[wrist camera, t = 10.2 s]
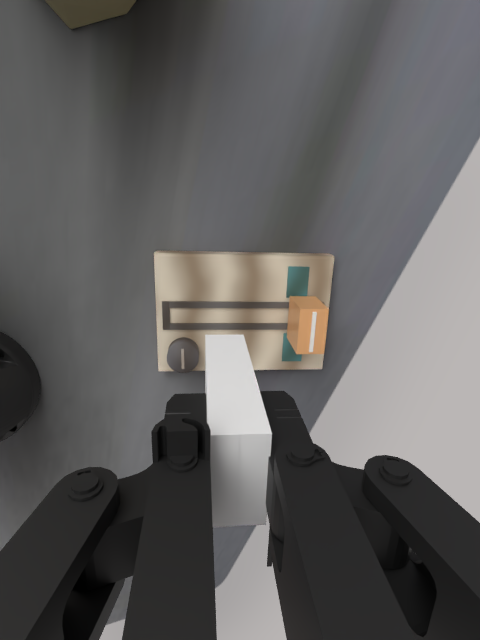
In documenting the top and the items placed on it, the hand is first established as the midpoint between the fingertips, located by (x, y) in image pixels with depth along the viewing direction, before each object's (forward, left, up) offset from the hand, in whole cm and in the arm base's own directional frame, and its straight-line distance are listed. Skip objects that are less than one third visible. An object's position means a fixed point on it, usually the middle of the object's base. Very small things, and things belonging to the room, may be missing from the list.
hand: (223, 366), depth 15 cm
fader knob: (+11, -7, -28) cm, 31 cm away
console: (+4, -7, -30) cm, 31 cm away
